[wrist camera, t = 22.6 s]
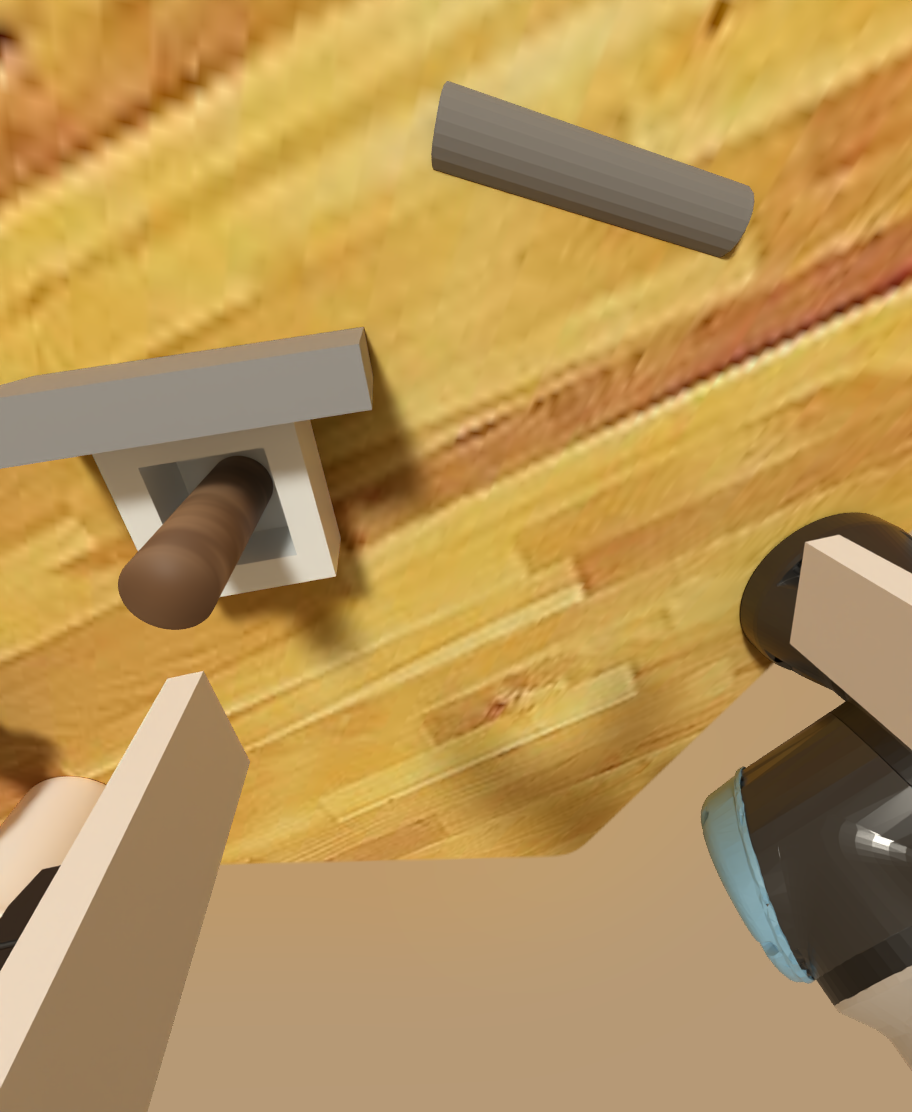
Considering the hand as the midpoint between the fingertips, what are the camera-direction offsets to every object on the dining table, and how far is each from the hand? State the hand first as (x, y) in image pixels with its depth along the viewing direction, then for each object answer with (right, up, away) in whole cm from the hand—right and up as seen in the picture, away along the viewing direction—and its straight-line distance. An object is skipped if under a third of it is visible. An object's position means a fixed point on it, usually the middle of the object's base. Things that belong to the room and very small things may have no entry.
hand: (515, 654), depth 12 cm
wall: (-17, +13, +21) cm, 30 cm away
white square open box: (-16, +7, +25) cm, 30 cm away
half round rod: (+7, +25, +20) cm, 32 cm away
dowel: (-16, +7, +24) cm, 30 cm away
